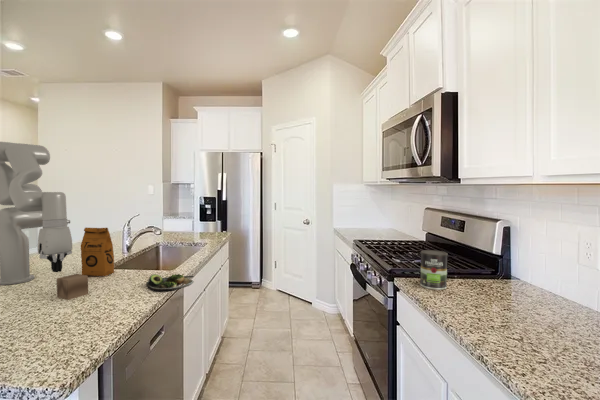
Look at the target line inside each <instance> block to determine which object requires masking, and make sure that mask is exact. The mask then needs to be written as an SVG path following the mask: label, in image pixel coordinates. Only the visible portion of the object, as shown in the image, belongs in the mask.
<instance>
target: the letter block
mask: <svg viewBox="0 0 600 400" xmlns="http://www.w3.org/2000/svg"><path fill="white" fill-rule="evenodd" d="M86 295H89V276H87V275H82V273H81V274H80V273H73V274H70V275H65V276H62V277H56V298H59V299H63V300H67V301H70V300H73V299H76V298H80V297H82V296H86Z"/></svg>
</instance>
